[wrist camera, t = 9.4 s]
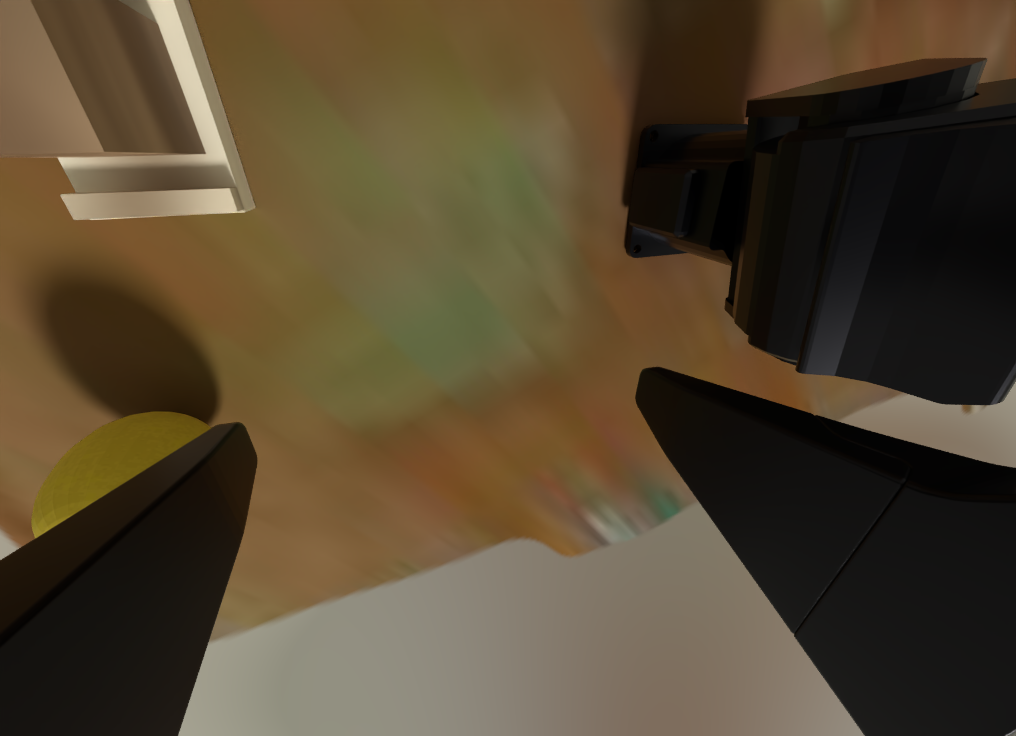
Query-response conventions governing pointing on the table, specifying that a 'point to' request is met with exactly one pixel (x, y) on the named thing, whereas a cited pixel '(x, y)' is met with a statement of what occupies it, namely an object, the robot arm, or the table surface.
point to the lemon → (109, 462)
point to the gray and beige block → (88, 83)
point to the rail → (168, 178)
